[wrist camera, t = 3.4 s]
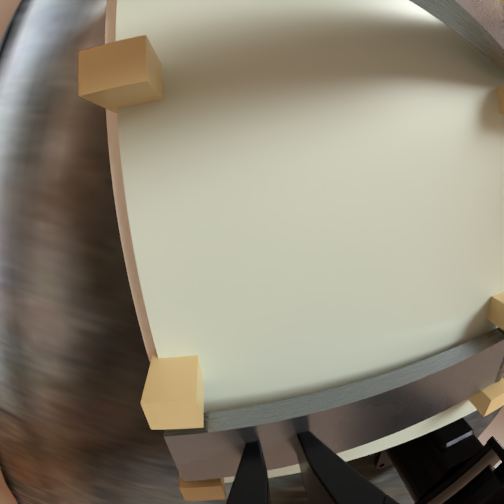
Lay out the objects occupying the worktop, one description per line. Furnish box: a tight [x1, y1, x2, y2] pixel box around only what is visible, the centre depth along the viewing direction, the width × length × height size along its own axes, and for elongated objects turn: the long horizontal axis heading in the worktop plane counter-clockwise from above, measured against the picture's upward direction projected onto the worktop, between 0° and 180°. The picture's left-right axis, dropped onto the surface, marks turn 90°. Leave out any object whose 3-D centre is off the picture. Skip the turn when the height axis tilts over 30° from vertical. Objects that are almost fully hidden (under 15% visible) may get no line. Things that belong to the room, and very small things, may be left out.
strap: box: [164, 327, 504, 481], centre depth 9 cm, size 14×2×1 cm, turn 95°
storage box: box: [78, 0, 504, 501], centre depth 10 cm, size 22×15×8 cm
